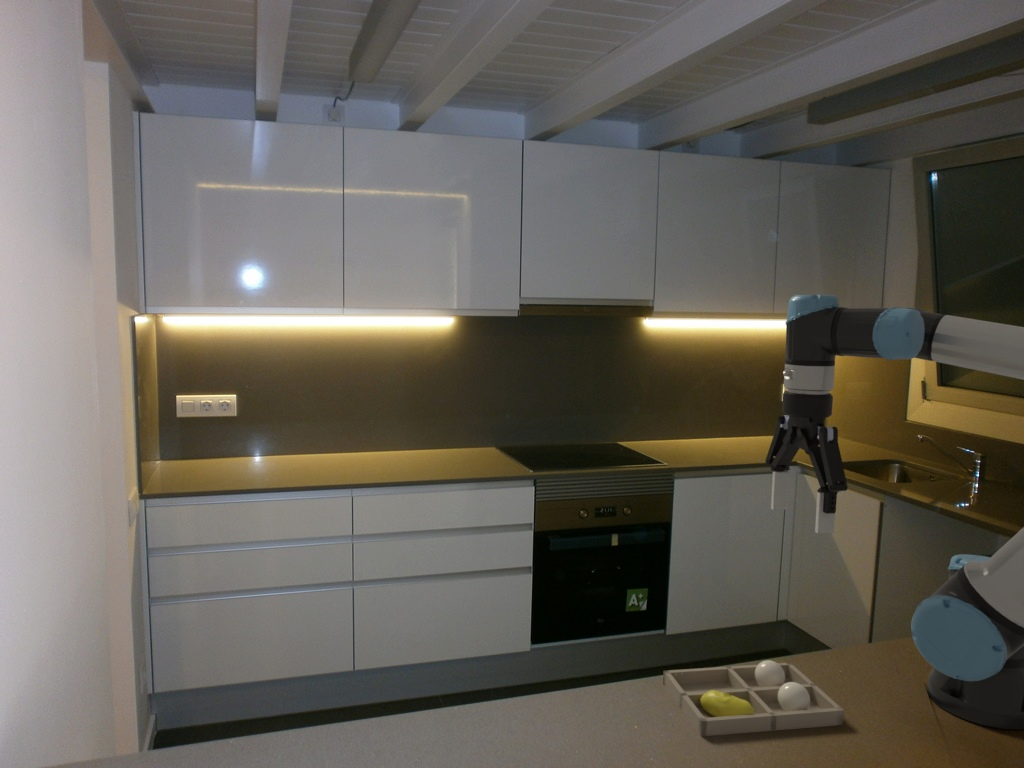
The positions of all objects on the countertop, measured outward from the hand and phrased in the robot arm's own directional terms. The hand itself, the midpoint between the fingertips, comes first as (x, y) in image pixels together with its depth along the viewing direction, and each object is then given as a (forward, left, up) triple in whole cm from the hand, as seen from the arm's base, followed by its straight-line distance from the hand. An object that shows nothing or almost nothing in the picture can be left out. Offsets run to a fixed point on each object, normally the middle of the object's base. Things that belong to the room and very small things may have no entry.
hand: (800, 520), depth 123 cm
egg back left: (0, +13, -26) cm, 29 cm away
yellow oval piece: (+9, +19, -26) cm, 34 cm away
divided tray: (+6, +13, -27) cm, 30 cm away
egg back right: (+3, +7, -26) cm, 27 cm away
